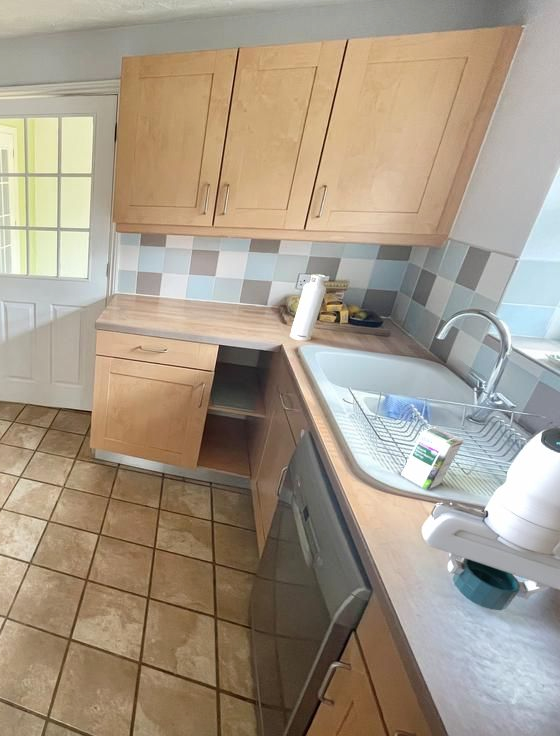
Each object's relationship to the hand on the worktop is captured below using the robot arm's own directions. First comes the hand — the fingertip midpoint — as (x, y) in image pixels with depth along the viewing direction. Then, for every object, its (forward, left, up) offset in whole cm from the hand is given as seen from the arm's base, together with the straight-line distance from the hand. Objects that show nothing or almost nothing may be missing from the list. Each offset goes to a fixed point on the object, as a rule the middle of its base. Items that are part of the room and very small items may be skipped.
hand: (485, 582), depth 70 cm
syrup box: (+2, -33, -5) cm, 33 cm away
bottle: (+29, -125, -5) cm, 128 cm away
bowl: (0, 0, -3) cm, 3 cm away
